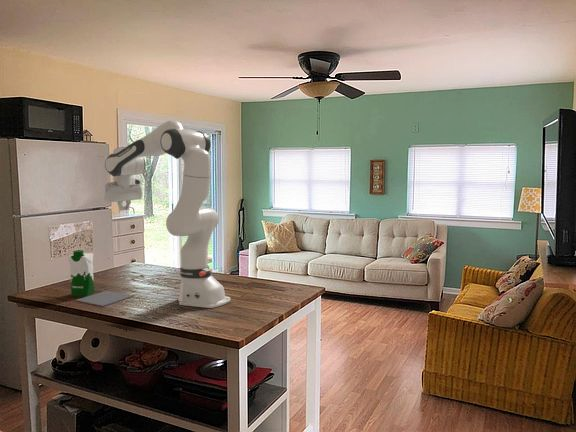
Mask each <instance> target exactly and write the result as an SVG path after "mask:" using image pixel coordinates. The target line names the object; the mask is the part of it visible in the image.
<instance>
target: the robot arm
mask: <svg viewBox="0 0 576 432" xmlns="http://www.w3.org/2000/svg"><path fill="white" fill-rule="evenodd" d="M211 143H212V142H211V139H210V137H209V135H208V134H207V133H205V132H203V131H200V130H193V129H186V128H184V126H183V125H182V123H180V122H179V121H177V120H175V119H169V120H167V121H164V122H162V123H161V124H159V125H158V126H157V127H156V128H154V129H153V130H152V131H151V132H149V133H147V134H146V135H145V136H143V137H141V138H140V139H136V140H135V141H133V142H131V143H130V144H129V145H127V146H122V147H116V148H115V149H113V151H112V153H110V154H109V155H108V156H107V158H106V159H105V160H104V161H105V162H104V168H105V170H106V171H107V173H108V174H109V175H111V176H112V179H113V180H112V182H107V183H106V184H105V186H104V187H105V189H104V201H105V202H106V203H115V202H116V203H117V206H118V207H119V211H129V210H130V206H131V203H132V201H135V200H137V201H138V200H142V198H143V188H142V186H141V184H142V181H141V180H140V179H138V178H135V177H134V176H137V175H142V174H143V173H144V172H145V170H146V169H147V163H146V160H145V158H144V157H158V156H163V155H165V154H167V155H169V156H172V157H173V158H175V159H176V160H178V159H180V158H181V159H182V161H183V174H182V183H181V192H180V196H179V199H178V201H177V203H176V205H175V207H174V209H173V210H172V211H171V212H170V213H169V214H168V215H167V217H166V220H165V226H166V229H167V231H168V233H169V234H171V235H172V236H175V237H187V238H186V241H185V243H184V244H183V245H182V247H181V249H180V268H179V275H180V277H181V278H180V280H181V281H180V289H179V295H178V305H179V306H187V307H197V308H199V307H200V308H205V309H206V308H207V309H212V308H217V307H220V306H224V305H225V304H228V303H229V302H231V297H230V296H228V295H226V294H225V293H226V292H225V288H224V286H223V284H221V283H220V282H219V281H218V280H217V279H216V278H215V277H214V276H213V275H212V273H213V272H214V269H213V268H211V269H210V267H209V265H208V264H209V263H208V259H209V258H208V257H209V256H208V253H209V252H208V251H209V243H210V241H211V237H212V234H213V232H214V230H215V229H216V227H217V226H218V224H219V215H218V213H217V211H216V210H215V209H214V208H211V207H207V206H202V204H203V203H204V201H205V200H206V199H207V198H208V197H209V194H210V187H211V185H210V184H211V176H212V175H211V174H212V173H211V171H212V169H211V168H212V167H211V166H212V165H211V164H212V163H211V155H210V153H209V152H210V150H211V147H212V146H211V145H212V144H211ZM123 202H125V205H124V206H123V204H124V203H123Z"/></svg>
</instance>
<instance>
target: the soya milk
mask: <svg viewBox="0 0 576 432" xmlns="http://www.w3.org/2000/svg"><path fill="white" fill-rule="evenodd" d="M72 253H73V254H71V255H69V256H68V257H67V258H68V262H69V273H70V290H71V293H70V294H71V297H78V298H84V297H87V296H91V295H94V293H95V284H94V283H95V282H94V263H93V262H94V253H90V252H89V253H88V252H86V253H84V250H81V249H80V250H79V249H78V250H73V252H72Z"/></svg>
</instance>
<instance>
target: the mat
mask: <svg viewBox="0 0 576 432" xmlns="http://www.w3.org/2000/svg"><path fill="white" fill-rule="evenodd" d="M133 297H134V295H131V294H126V293H125V294H124V293H120V292H115V291H110V290H105V291H101V292H98V293H95V294H94V293H93V294H91V295H89V296H87V297H79V298H77V299H75V302H79V303H84V304H88V305H92V306H98V307H106V306H109V305H112V304H114V303H115V304H116V303H119V302H121V301H124V300H127V299H131V298H133Z"/></svg>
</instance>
